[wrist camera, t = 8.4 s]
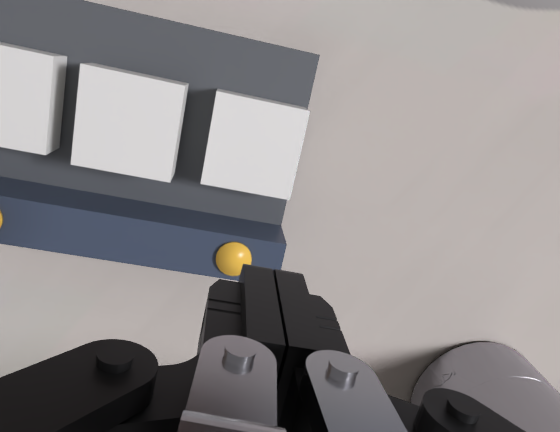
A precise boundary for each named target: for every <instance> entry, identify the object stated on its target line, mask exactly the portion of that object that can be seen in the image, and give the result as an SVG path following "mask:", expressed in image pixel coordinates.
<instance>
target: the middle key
mask: <svg viewBox="0 0 560 432" xmlns="http://www.w3.org/2000/svg"><path fill="white" fill-rule="evenodd" d="M188 85H189V83H185V82H180V81H175V80H171V79H166V78H161V77H157V76H152V75H147V74H143V73H138V72H133V71H128V70H124V69H119V68H114V67H110V66H105V65H100V64H96V63H80V71H79V82H78V92H77V102H76V113H75V123H74V134H73V144H72V155H71V165H76V166H81V167H87V168H92V169H98V170H103V171H109V172H114V173H120V174H125V175H130V176H136V177H141V178H147V179H152V180H158V181H163V182H169V183H170V182H171V180H172V178H173V176H174V174H175V168H176V162H177V155H178V149H179V143H180V136H181V130H182V123H183V117H184V111H185V104H186V98H187V92H188Z"/></svg>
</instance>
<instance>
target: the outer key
mask: <svg viewBox="0 0 560 432" xmlns="http://www.w3.org/2000/svg"><path fill="white" fill-rule="evenodd" d="M66 67H67V56H64V55H59V54H55V53H50V52H45V51H41V50H36V49H31V48H27V47H22V46H17V45H13V44H8V43H3V42H0V147H3V148H8V149H14V150H19V151H25V152H30V153H36V154H41V155H47V154H49V153H51V152H53V151H55V150H57V149H58V148H59V146H60V135H61V124H62V112H63V101H64V90H65V78H66Z"/></svg>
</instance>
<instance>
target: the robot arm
mask: <svg viewBox="0 0 560 432" xmlns="http://www.w3.org/2000/svg"><path fill="white" fill-rule="evenodd" d="M0 432H560V393H559V392H558V391H557V390H556V389H555V388H554V387H553V386H552V385H551V384H550V383H549V382H548V381H547V380H546V379H545V378H544V377H543V376H542V375H541V374H540V373H539V372H538V371H537V370H536V369H535V368H534V366H533V365H532V364H531V363H530V362H529V361H528V360H527V359H526V358H525V357H524V356H522V355H521V354H520V353H519V352H517V351H516V350H515V349H512V348H510V347H508V346H506V345H503V344H498V343H493V342H477V343H471V344H466V345H463V346H460V347H457V348H455V349H452V350H450V351H448V352H447V353H445V354H443V355H442V356H440V357H439V358H437V359H436V360H435V361H434V362H433V363H432V364H430V365H429V366H428V367H427V369H426V370H425V371H424V372H423V374H422V375H421V376H420V378H419V379H418V381H417V383H416V385H415V387H414V390H413V394H412V397H411V403H409V402H406V401H403V400H401V399H398V398H395V397H392V396H390V395H387V393H386V392H385V390H384V388H383V386H382V384H381V382H380V381H379V379H378V377H377V375H376V374H375V372H374V371H373V370H372V369H371V367H369V366H368V365H367V364H366V363H364V362H363V361H361V360H360V359H358V358H356V357H354V356H352V355H350V352H349V349H348V347H347V344H346V342H345V339H344V336H343V334H342V331H340V326H339V323H338V321H337V318H336V316H335V313H334V311H333V308H332V307H331V306H330V305H329V304H328V303H327V302H326V301H325V300H324V299H323V298H322V297H321V296H316V295H311V294H309V292H308V289H307V285H306V282H305V279H304V276H303V274H300V273H295V272H289V271H283V270H277V269H274V270H272V269H271V268H265V267H260V266H254V265H248V264H243V266H242V269H241V273H240V277H239V281H238V282H233V281H227V280H221V279H219V280H218V281H217V282H215V283H214V284H213V285H212V286H211V287H210V288H209V293H208V298H207V303H206V308H205V313H204V318H203V323H202V328H201V333H200V338H199V343H198V350H197V356H195V357H194V358H192V359H190V360H188V361H186V362H183V363H179V364H175V365H165V366H158V362H157V359H156V357H155V355H154V354H153V353H152V352H151V351H150V350H148V349H147V348H145V347H144V346H142V345H139V344H137V343H134V342H131V341H126V340H118V339H106V340H99V341H94V342H91V343H88V344H85V345H82V346H80V347H77V348H75V349H72V350H70V351H67V352H64V353H62V354H59V355H57V356H54V357H52V358H49V359H47V360H44V361H42V362H39V363H36V364H34V365H31V366H29V367H26V368H24V369H21V370H19V371H16V372H13V373H11V374H8V375H6V376H3V377H1V378H0Z"/></svg>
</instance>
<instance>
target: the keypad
mask: <svg viewBox="0 0 560 432" xmlns="http://www.w3.org/2000/svg"><path fill="white" fill-rule="evenodd" d="M0 42H3V43H8V44H13V45H17V46H22V47H27V48H31V49H36V50H41V51H45V52H50V53H55V54H59V55H64V56H67V67H66V78H65V90H64V101H63V112H62V124H61V135H60V146H59V148H58V149H57V150H55V151H53V152H51V153H49V154H47V155H41V154H36V153H30V152H25V151H19V150H14V149H8V148H3V147H0V244H6V245H13V246H19V247H26V248H32V249H38V250H45V251H51V252H58V253H64V254H70V255H77V256H83V257H89V258H96V259H102V260H109V261H115V262H121V263H128V264H134V265H141V266H147V267H153V268H160V269H166V270H173V271H179V272H185V273H192V274H198V275H205V276H211V277H217V278H224V279H230V280H237V281H239V277H240V273H241V269H242V266H243V264H248V265H254V266H260V267H265V268H271V269H272V270H274V269H277V270H281V266H282V262H283V258H284V253H285V249H286V245H287V244H286V241H285V237H284V234H283V231H282V227H281V223H282V219H283V215H284V210H285V206H286V201H287V200H286V199H280V198H275V197H269V196H264V195H258V194H253V193H247V192H242V191H237V190H231V189H226V188H220V187H215V186H209V185H204V184H200V183H201V178H202V172H203V166H204V160H205V154H206V149H207V143H208V137H209V131H210V126H211V120H212V114H213V108H214V103H215V97H216V91H217V89H223V90H227V91H232V92H237V93H241V94H246V95H251V96H255V97H260V98H265V99H269V100H274V101H279V102H283V103H288V104H293V105H297V106H302V107H305V108H307V109H308V104H309V100H310V95H311V91H312V87H313V82H314V78H315V73H316V69H317V65H318V60H319V56H320V55H317V54H313V53H309V52H304V51H300V50H296V49H291V48H287V47H283V46H278V45H274V44H270V43H265V42H261V41H257V40H252V39H248V38H244V37H240V36H235V35H231V34H227V33H222V32H218V31H214V30H209V29H205V28H201V27H196V26H192V25H188V24H183V23H179V22H175V21H170V20H166V19H162V18H157V17H153V16H149V15H144V14H140V13H136V12H131V11H127V10H123V9H118V8H114V7H110V6H105V5H101V4H97V3H92V2H88V1H84V0H0ZM80 63H96V64H100V65H105V66H110V67H114V68H119V69H124V70H128V71H133V72H138V73H143V74H147V75H152V76H157V77H161V78H166V79H171V80H175V81H180V82H185V83H189V85H188V92H187V98H186V104H185V111H184V117H183V123H182V130H181V136H180V143H179V149H178V155H177V162H176V168H175V174H174V176H173V178H172V180H171V182H170V183H169V182H163V181H158V180H152V179H147V178H141V177H136V176H130V175H125V174H120V173H114V172H109V171H103V170H98V169H92V168H87V167H81V166H76V165H71V155H72V144H73V134H74V123H75V113H76V102H77V92H78V82H79V71H80Z"/></svg>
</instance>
